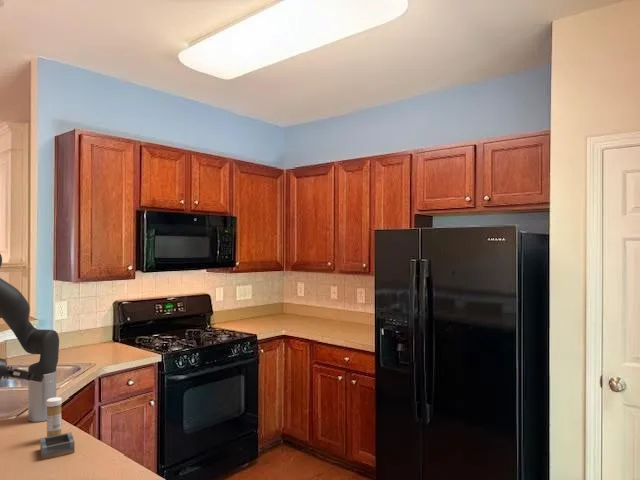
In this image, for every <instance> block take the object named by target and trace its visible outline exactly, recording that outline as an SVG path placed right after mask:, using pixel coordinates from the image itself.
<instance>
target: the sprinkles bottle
mask: <svg viewBox="0 0 640 480" xmlns="http://www.w3.org/2000/svg"><path fill="white" fill-rule="evenodd" d="M62 402H63V401H62V397H59V396H56V397H54V398H50V399H48V400H47V401H46V406H47V420H46V437H50V436H55V435H60V434H62V424H63V423H62V421H63V420H62V419H63V418H62V404H63V403H62Z"/></svg>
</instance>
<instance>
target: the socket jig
mask: <svg viewBox="0 0 640 480" xmlns="http://www.w3.org/2000/svg"><path fill="white" fill-rule="evenodd" d="M39 441H40V446H39V447H40V454H41V455H40V456H41V460H47V459H52V458H57V457H61V456H66V455H71V454H74V453H76V452H75V450H76V449H75V439H74V436H73V433H72V432H67V433H66V432H65V433H61V434H60V435H55V436H50V437H47V436H46V437H42V438H40V440H39Z"/></svg>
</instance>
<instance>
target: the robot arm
mask: <svg viewBox="0 0 640 480" xmlns="http://www.w3.org/2000/svg"><path fill="white" fill-rule="evenodd" d="M2 264H3V256H2V254H1V253H0V268H1V266H2ZM30 312H31V307H30V304H29V302H28V300H27V299H26V298H25V296H24V295H23V294H22V293H21V292H20V290H19V289H18V288H16V286H14V285H12V284H11V283H9V282H8V281H6V280H4V279H3V278H1V277H0V318H1V319H2V320H3V321H4V323H6V324H7V325H6V326H8V328H10V330H11V331H12V332H13V334H14V336H15V337H16V339H17V341H18V342H19V344H20V345H21V347H22V349H23V350H24V351H25V352H26V353H28V354H31V355H39V361H37V362H35V363H32V364H30V365H29V366H28V370H26V369H23V368H18V367H15V366H11V365H10V366H9V365H8V363H7V360H6V359H4V358H1V357H0V380H1V379H3V380H10V381H12V380H16V381H23V380H25V381H27V385H28V386H27V388H28V389H27V394H28V395H27V401H28V402H27V403H28V404H27V407H28V409H27V419H28V421H29V422H32V423H33V422H35V423H37V422H38V423H39V422H45V421H46V422H47V406H46V401H47V400H48V399H50V398H54V397H57V365H58V363H59V354H60V352H59V351H60V350H59V349H60V337H59V334H58V331H56V330H54V329H38V328H36V327H34V325H33V323H31V321H30V320H29V318H30V317H29V316H30Z"/></svg>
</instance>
